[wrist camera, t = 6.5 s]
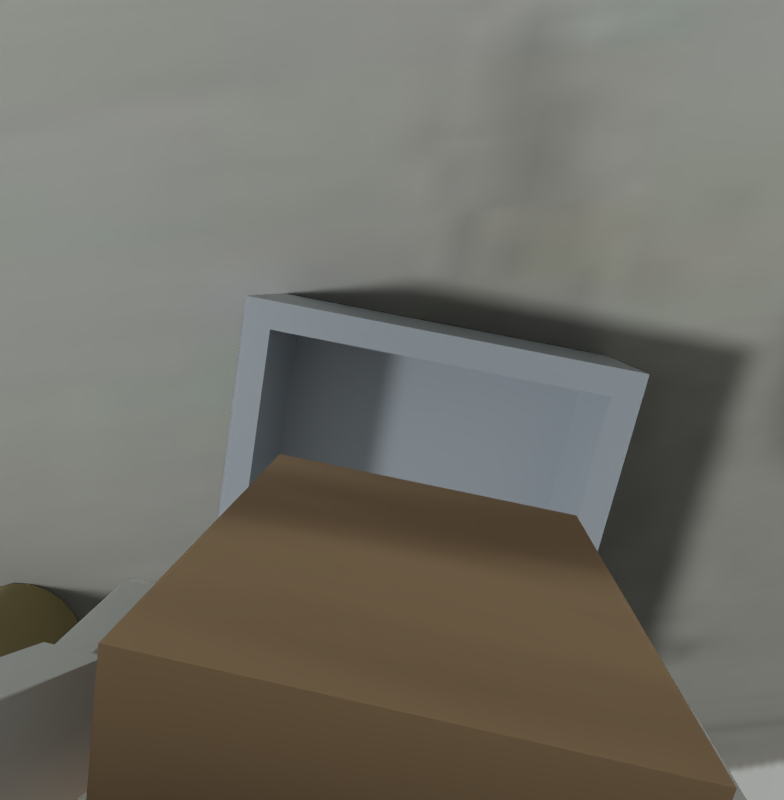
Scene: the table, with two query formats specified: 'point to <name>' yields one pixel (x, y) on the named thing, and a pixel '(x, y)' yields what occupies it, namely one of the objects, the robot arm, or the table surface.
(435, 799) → the tan cube
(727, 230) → the table surface
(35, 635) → the cork
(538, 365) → the tote
